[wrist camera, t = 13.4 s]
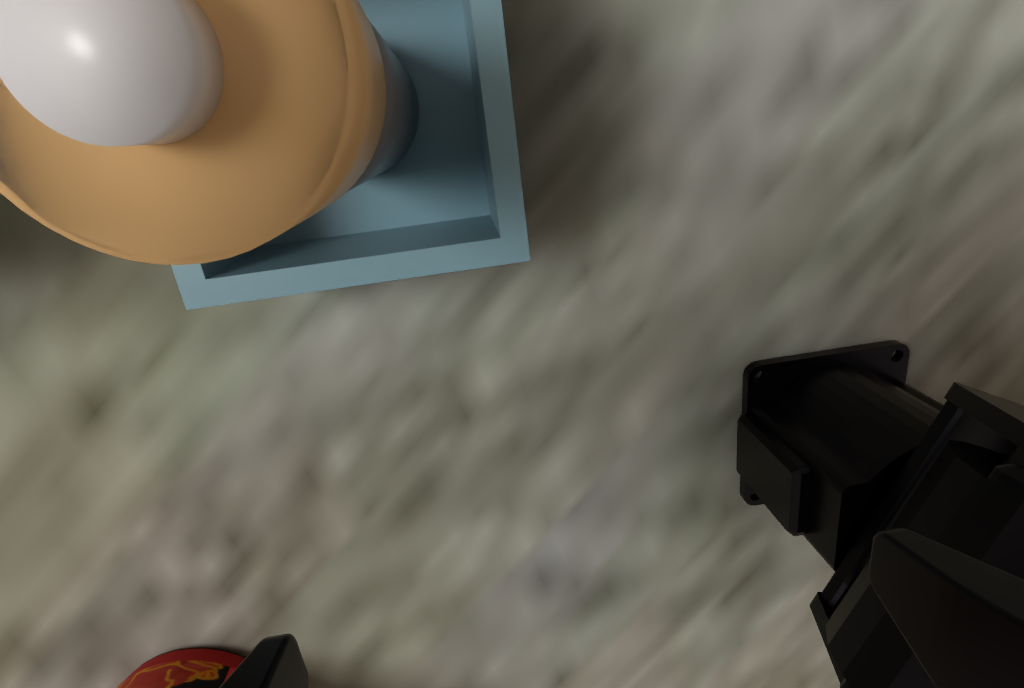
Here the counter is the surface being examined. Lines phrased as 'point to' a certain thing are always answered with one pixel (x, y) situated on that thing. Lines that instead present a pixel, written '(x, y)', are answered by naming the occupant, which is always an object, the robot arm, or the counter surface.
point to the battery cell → (193, 119)
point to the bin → (407, 175)
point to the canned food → (185, 670)
